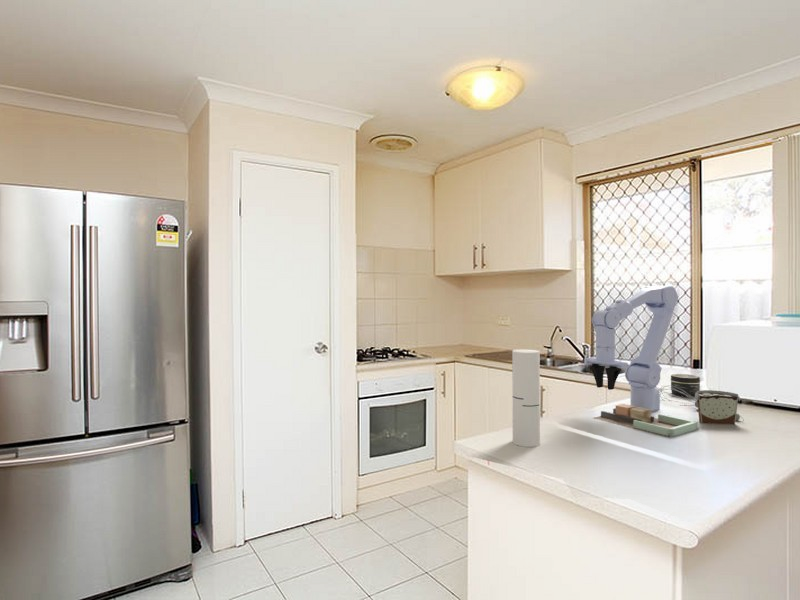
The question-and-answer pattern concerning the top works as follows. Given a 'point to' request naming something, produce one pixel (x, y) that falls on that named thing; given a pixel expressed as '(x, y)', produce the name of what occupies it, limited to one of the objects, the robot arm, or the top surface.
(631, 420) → the groove board
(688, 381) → the jar
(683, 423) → the tray
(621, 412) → the terracotta block
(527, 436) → the cylindrical container
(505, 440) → the top surface
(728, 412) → the food container
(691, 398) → the kitchen whisk
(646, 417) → the birch block
